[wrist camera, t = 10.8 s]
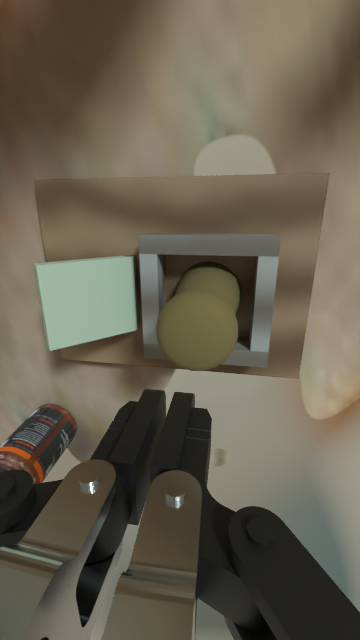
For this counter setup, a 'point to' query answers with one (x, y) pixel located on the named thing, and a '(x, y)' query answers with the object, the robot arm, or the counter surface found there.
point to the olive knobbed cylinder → (201, 318)
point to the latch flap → (87, 299)
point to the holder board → (197, 254)
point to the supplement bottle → (38, 442)
